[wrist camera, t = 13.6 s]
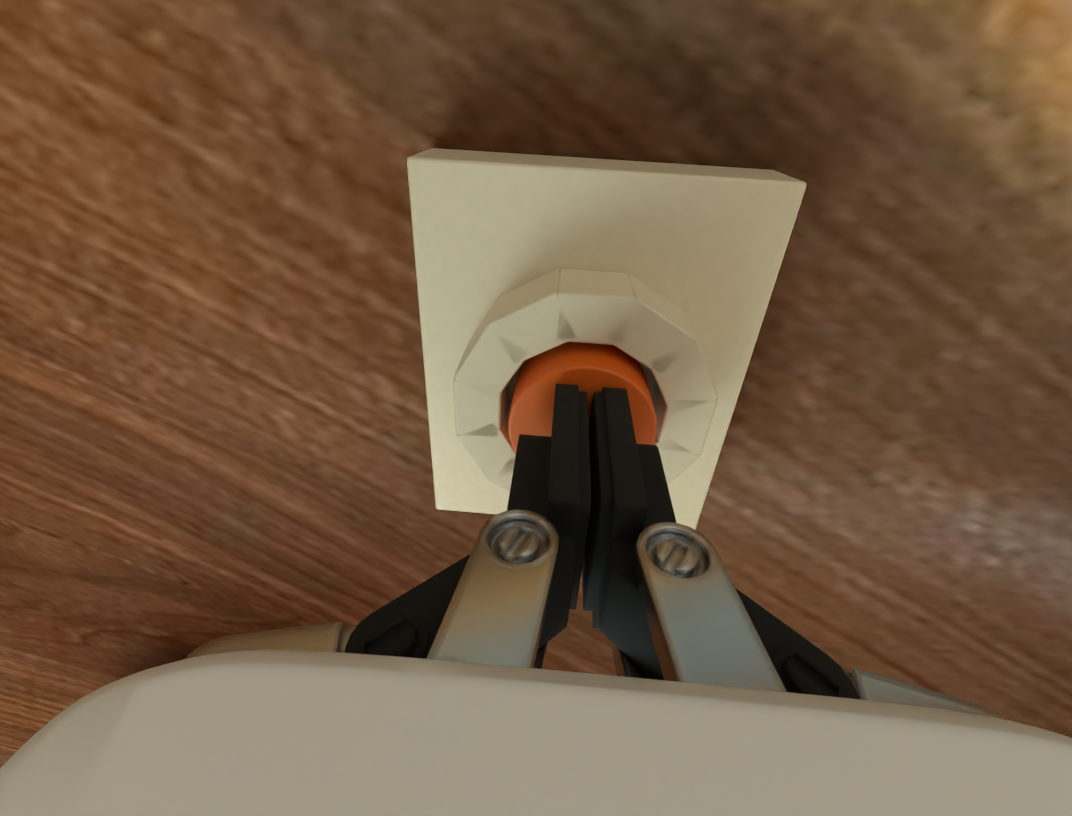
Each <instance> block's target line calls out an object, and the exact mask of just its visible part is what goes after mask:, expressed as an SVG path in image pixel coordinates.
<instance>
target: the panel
mask: <svg viewBox="0 0 1072 816" xmlns="http://www.w3.org/2000/svg"><path fill="white" fill-rule="evenodd" d="M407 169H408V181H409V192H410V204H411V216H412V228H413V240H414V252H415V264H416V276H417V288H418V300H419V312H420V324H421V336H422V348H423V360H424V372H425V384H426V396H427V408H428V420H429V432H430V443H431V455H432V467H433V479H434V491H435V503H436V509H439V510H451V511H463V512H475V513H487V514H499V513H502V512H504V511H507V506H508V500H509V494H510V488H511V482H512V475H513V469H514V463H515V457H516V452H515V451H514V449H513V447H512V444H511V441H510V437H509V432H508V422H509V414H510V409H511V404H512V399H513V394H514V389H515V384H516V381H517V377H518V375H519V372H520V370H521V368H522V367H523V365H524V364H525V362H526V361H527V360H528V359H529V358H531V357H533V356H536V355H538V354H540V353H543V352H545V351H547V350H550V349H552V348H554V347H557V346H559V345H561V344H563V343H566V342H580V343H594V344H607V345H614V346H616V347H617V348H619V349H620V350H622V351H623V352H625V353H627V354H628V355H630V356H631V357H633V358H634V359H636V360H637V361H638V363H639V364H640V365H641V367H642V369H643V371H644V373H645V376H646V379H647V382H648V386H649V390H650V394H651V398H652V402H653V406H654V410H655V414H656V419H657V431H656V437H655V441H654V444H653V445H656V446H658V449H659V452H660V456H661V460H662V465H663V469H664V473H665V477H666V481H667V485H668V489H669V494H670V498H671V502H672V506H673V510H674V514H675V519H676V523H679V524H682V525H685V526H688V527H691V528H692V529H694V530H695V529H696V525H697V522H698V519H699V516H700V513H701V510H702V507H703V504H704V501H705V498H706V495H707V492H708V488H709V485H710V482H711V479H712V476H713V473H714V470H715V467H716V464H717V461H718V458H719V455H720V451H721V448H722V445H723V442H724V439H725V436H726V433H727V430H728V427H729V424H730V421H731V417H732V414H733V411H734V408H735V405H736V402H737V399H738V396H739V393H740V390H741V387H742V384H743V380H744V377H745V374H746V371H747V368H748V365H749V362H750V359H751V356H752V353H753V350H754V346H755V343H756V340H757V337H758V334H759V331H760V328H761V325H762V322H763V319H764V316H765V313H766V309H767V306H768V303H769V300H770V297H771V294H772V291H773V288H774V285H775V282H776V279H777V275H778V272H779V269H780V266H781V263H782V260H783V257H784V254H785V251H786V248H787V245H788V242H789V238H790V235H791V232H792V229H793V226H794V223H795V220H796V217H797V214H798V211H799V208H800V205H801V201H802V198H803V195H804V192H805V189H806V183H805V182H803V181H801V180H798V179H795V178H793V177H790V176H788V175H785V174H782V173H780V172H777V171H774V170H768V169H752V168H737V167H721V166H705V165H690V164H674V163H658V162H643V161H627V160H611V159H596V158H580V157H564V156H549V155H533V154H517V153H501V152H486V151H470V150H454V149H439V148H431V149H428V150H426V151H423V152H420V153H418V154H415V155H413V156H410V157H408V158H407Z"/></svg>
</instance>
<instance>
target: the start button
mask: <svg viewBox="0 0 1072 816" xmlns="http://www.w3.org/2000/svg"><path fill="white" fill-rule="evenodd" d="M556 383H558V384H571V385H578V391H584V392H587V406H588V428H589V420H590V413H591V405H592V398H593V393H594V392H597V393H602V388H603V387H610V388H623V389H627V393H628V399H629V404H630V410H631V415H632V421H633V427H634V432H635V438H636V443H637V444H649V445H653V444H654V441H655V437H656V431H657V419H656V414H655V410H654V406H653V402H652V398H651V394H650V390H649V386H648V382H647V379H646V376H645V373H644V371H643V369H642V367H641V365H640V364H639V363H638V361H637V360H636V359H634V358H633V357H631V356H630V355H628V354H627V353H625V352H623V351H622V350H620V349H619V348H617V347H616V346H614V345H607V344H594V343H580V342H566V343H563V344H561V345H559V346H557V347H554V348H552V349H550V350H547V351H545V352H543V353H540V354H538V355H536V356H533V357H531V358H529V359H528V360H527V361H526V362H525V364H524V365H523V367H522V368H521V370H520V372H519V375H518V377H517V381H516V384H515V389H514V394H513V399H512V404H511V409H510V414H509V422H508V432H509V437H510V441H511V444H512V447H513V449H514V451H515V452H516V451H517V444H518V438H519V435H520V434H524V435H536V436H549V437H551V432H552V421H553V409H554V397H555V385H556Z"/></svg>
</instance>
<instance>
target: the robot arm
mask: <svg viewBox="0 0 1072 816" xmlns="http://www.w3.org/2000/svg"><path fill="white" fill-rule="evenodd" d="M581 571H582V584H583V610H585V611H592V616H593V628H599V629H600V630H601V631H602V632H603V633H604V634H605V635H606V636H607V637H608V638H609V639H610V640H611V641H612V642H613V658H614V663H615V667H616V672H617V676H612V675H601V674H590V673H579V672H569V671H558V670H547V669H543V667H544V662H545V657H546V652H547V645H548V641H549V640H551V639H552V638H553V637H554V636H556V635H557V634H558V633H559V632H560V631H562V630H563V629H564V628H565V627H567V622H568V614H569V609H574V610H575V609H576V604H577V597H578V591H579V584H580V578H581ZM0 816H1072V738H1070V737H1067V736H1064V735H1061V734H1057V733H1054V732H1051V731H1048V730H1045V729H1042V728H1038V727H1034V726H1030V725H1025V724H1021V723H1017V722H1013V721H1009V720H1007V719H1006V718H1004V717H1003V716H1001V715H1000V714H998V713H997V712H995V711H992V710H990V709H988V708H985V707H983V706H981V705H978V704H975V703H972V702H968V701H965V700H962V699H958V698H955V697H951V696H948V695H945V694H941V693H938V692H935V691H931V690H928V689H925V688H921V687H918V686H914V685H911V684H908V683H904V682H901V681H898V680H894V679H891V678H888V677H884V676H881V675H877V674H874V673H871V672H867V671H864V670H861V669H857V668H855V669H854V670H853V671H852V673H848V672H844V670H843V669H842V668H841V667H840V666H839V665H838V664H837V663H836V662H835V661H834V660H832V659H831V658H830V657H829V656H828V655H827V654H825V653H824V652H823V651H821V650H820V649H819V648H817V647H816V646H814V645H813V644H812V643H810V642H809V641H808V640H806V639H805V638H803V637H802V636H801V635H799V634H798V633H797V632H795V631H794V630H792V629H791V628H790V627H788V626H787V625H786V624H784V623H783V622H781V621H780V620H779V619H777V618H776V617H775V616H773V615H772V614H770V613H769V612H768V611H766V610H765V609H764V608H762V607H761V606H759V605H758V604H757V603H755V602H754V601H753V600H751V599H750V598H748V597H747V596H746V595H744V594H743V593H742V592H740V591H739V590H737V589H736V588H735V587H734V585H733V583H732V581H731V579H730V577H729V575H728V573H727V571H726V569H725V567H724V565H723V563H722V561H721V559H720V557H719V555H718V553H717V551H716V549H715V548H714V546H713V545H712V543H711V542H710V541H709V540H708V539H707V538H706V537H705V536H703V535H702V534H701V533H700V532H698V531H696V530H694V529H692V528H691V527H688V526H685V525H682V524H679V523H676V519H675V514H674V510H673V506H672V502H671V498H670V494H669V489H668V485H667V481H666V477H665V473H664V469H663V465H662V460H661V456H660V452H659V449H658V446H656V445H649V444H637V443H636V438H635V432H634V427H633V421H632V415H631V410H630V404H629V399H628V393H627V389H623V388H610V387H603V388H602V393H597V392H594V393H593V398H592V405H591V413H590V420H589V428H588V406H587V392H584V391H578V385H571V384H558V383H556V385H555V397H554V409H553V421H552V432H551V437H549V436H536V435H524V434H520V435H519V438H518V444H517V451H516V457H515V463H514V469H513V475H512V482H511V488H510V494H509V500H508V506H507V511H504V512H502V513H499V514H497V515H494V516H493V517H492V518H491V519H489V520H488V521H487V522H486V523H485V524H484V526H483V527H482V529H481V530H480V533H479V535H478V538H477V540H476V542H475V545H474V547H473V549H472V552H471V554H470V555H468V556H466V557H465V558H463V559H461V560H460V561H458V562H456V563H455V564H453V565H451V566H450V567H448V568H446V569H445V570H443V571H441V572H440V573H438V574H436V575H435V576H433V577H431V578H430V579H428V580H426V581H425V582H423V583H421V584H420V585H418V586H416V587H415V588H413V589H411V590H410V591H408V592H406V593H405V594H403V595H401V596H400V597H398V598H396V599H395V600H393V601H392V602H390V603H388V604H387V605H385V606H383V607H382V608H380V609H378V610H377V611H375V612H373V613H372V614H370V615H369V616H368V617H366V618H365V619H364V620H363V621H361V622H360V623H359V624H358V625H356V626H348V627H343V624H342V621H338V622H330V623H322V624H314V625H306V626H298V627H290V628H282V629H274V630H266V631H258V632H250V633H242V634H234V635H227V636H224V637H220V638H216V639H213V640H210V641H209V642H207V643H205V644H203V645H202V646H200V647H198V648H196V649H195V650H194V651H193V652H191V653H190V654H189V655H188V656H187V657H186V658H185V659H184V660H180V661H175V662H171V663H168V664H164V665H160V666H157V667H153V668H149V669H146V670H143V671H140V672H137V673H135V674H132V675H129V676H126V677H124V678H121V679H119V680H117V681H114V682H112V683H109V684H107V685H105V686H102V687H101V688H99V689H97V690H95V691H93V692H91V693H90V694H88V695H86V696H84V697H82V698H81V699H79V700H78V701H76V702H75V703H73V704H72V705H71V706H69V707H68V708H66V709H65V710H64V711H62V712H61V713H59V714H58V715H57V716H56V717H54V718H53V719H52V720H51V721H50V722H49V723H47V724H46V725H45V726H44V727H43V728H41V729H40V730H39V731H38V732H37V733H36V734H35V735H34V736H33V737H32V738H30V739H29V740H28V741H27V742H26V743H25V744H24V745H23V746H22V747H21V748H20V749H19V750H18V751H17V752H16V753H15V754H14V755H13V756H12V757H11V758H10V759H9V760H8V761H7V762H6V763H5V764H4V765H3V766H2V767H1V768H0Z"/></svg>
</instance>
